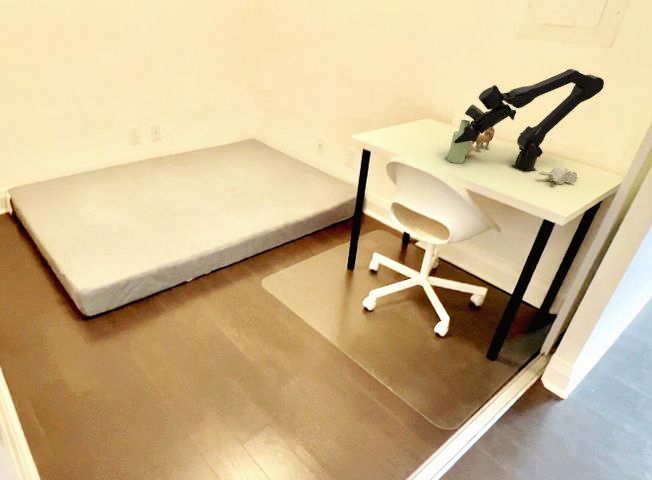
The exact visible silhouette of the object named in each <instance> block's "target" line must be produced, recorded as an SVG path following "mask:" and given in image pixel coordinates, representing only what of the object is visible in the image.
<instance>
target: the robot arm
mask: <svg viewBox="0 0 652 480" xmlns="http://www.w3.org/2000/svg"><path fill="white" fill-rule="evenodd" d="M571 83H572V84H574V85H573V88H572V90H571V92H570V94H569V95H567V97H566V98H565V99H563V101H561V102H560V103H559V105H557V106H556V107H555V108H554V109H552V111H550V113H548V115H546V116H545V117H544V118H543V119H542V120H541V121H540V122H539V123H538V124H537V125H535V126H530V125H528V126H526V127H525V129H524V130H523V131H522V132H520V133H519V136H518V137H517V139H516V144H517V146H518V150H519V153H518V154H517V156H516V159H515V162H514V164H511V167H512V168H515V169H517V170H519V171H521V172H525V173H527V172H531V171H536V168H535V166H536V164H537V160H538V158H540V157H542V155H543V153H544V151H543V150H542V148H541V147H540V146H541V145H542V143H543V142H544V140H545V138H546V136H547V134H548V133H549V132H550V131H551V130H553V129H554V128H555V127H556V126H557V125H558V124H559V123H560V122H561V121H562V120H564V119H565V118H566V117H567V116H568V115H569V114H570V113H572V111H574V109H576V108H577V107H578V106H579V105H580V104H581V103H584V102H586V101H588V100H591V99H592V98H594V97H595V96H597V95H598V94H599V93H601V91H602V90H603V89H604V86H605V81H604V79H603V78H602V77H599V76H597V75H594V74H584V73H581V72H580V71H579V70H577V69H574V68H568V69H566V70H565V71H563V72H560V73H558V74H556V75H553V76H550V77H549V78H546V79H544V80H542V81H539V82H537V83H534V84H532V85H525V86H519V87H516V88H512V89H510V91H507V92H501V91H500V89H499V87H498V86H497V85H496V84H493V85H492V86H490V87H488V88H486V89H484V90H482V91H481V92H480V93H479V95H478V100H479V101H480V102H481V104H482V105H483V106H484V107H485V108H486V110H487V111H485V112H484V111H482V110H481V109H480V108H479V107H478V106H476V105H475V104H470V105H469V107H468V108H467V109H466V111H465V112H464V115H466V116H468V117H469V118H471V119H472V120H471V121H470V124H469V125H467V126H466V127H465V128H464V133H463V134H462V135H460V136H459V137H458V138H457V139H456V140H455V141H454V142H455V143H461V142H467V141H471V142H473V141H475V140H476V139H478V138H479V135H483V134H484V133H485V131H486V130H488V129H489V128H492V127H493V128H494V127H495V126H496V125H497V124H499V123H501V122H503V121H504V120H506V119H507V118H508V117H509V118H510V119H511V121H514V120H515V117H516V115H517V110H516V109H522V108H524V107H526V106H527V105H529V104H531V103H532V102H533V101H534V100H535V99H536V98H539V97H540V96H543V95H545V94H547V93H551V92H552V91H554V90H555V91H556V90H557V89H559V88H562V87H565V86H566V85H569V84H571ZM504 102H505V103H504ZM511 107H513V108H515V109H513V108H511Z"/></svg>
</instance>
